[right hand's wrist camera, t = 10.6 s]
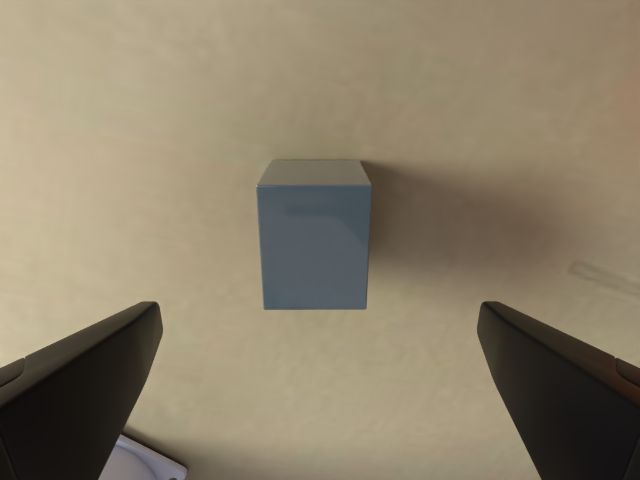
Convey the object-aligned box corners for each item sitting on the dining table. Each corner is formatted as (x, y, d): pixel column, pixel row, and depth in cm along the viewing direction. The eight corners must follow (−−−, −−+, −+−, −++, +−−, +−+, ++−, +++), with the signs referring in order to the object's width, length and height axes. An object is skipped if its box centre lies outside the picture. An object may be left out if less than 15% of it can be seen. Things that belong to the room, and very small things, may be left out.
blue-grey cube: (359, 159, 18) (372, 184, 14) (356, 259, 20) (366, 309, 16) (271, 159, 18) (255, 185, 14) (275, 260, 20) (263, 310, 16)
